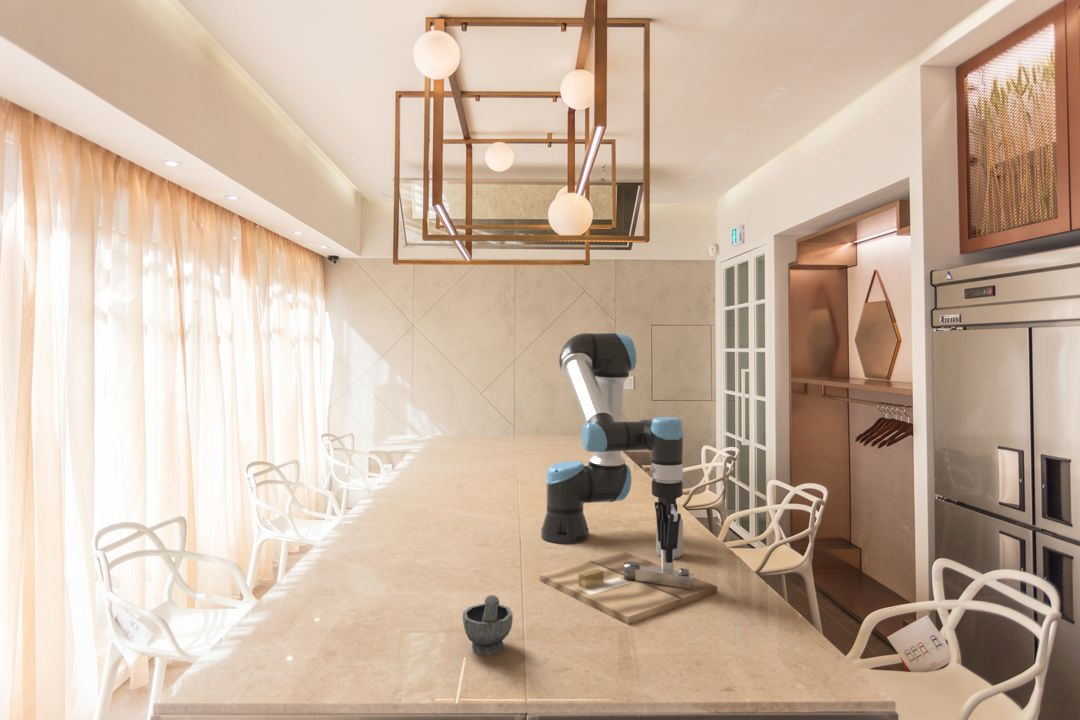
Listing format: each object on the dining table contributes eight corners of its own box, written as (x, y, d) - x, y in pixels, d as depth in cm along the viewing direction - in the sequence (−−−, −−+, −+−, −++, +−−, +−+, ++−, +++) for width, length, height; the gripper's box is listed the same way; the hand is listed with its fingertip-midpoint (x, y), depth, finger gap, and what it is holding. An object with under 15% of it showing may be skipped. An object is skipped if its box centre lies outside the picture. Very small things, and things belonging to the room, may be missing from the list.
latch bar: (621, 579, 154) (621, 563, 154) (626, 574, 158) (626, 558, 158) (690, 590, 147) (690, 574, 147) (693, 584, 151) (693, 568, 151)
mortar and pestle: (460, 639, 125) (460, 580, 125) (506, 634, 128) (505, 576, 128) (468, 666, 114) (468, 602, 114) (517, 660, 117) (517, 597, 117)
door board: (539, 580, 158) (539, 562, 158) (624, 557, 176) (624, 541, 176) (627, 624, 132) (627, 603, 132) (717, 592, 150) (717, 573, 150)
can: (683, 560, 174) (683, 517, 174) (656, 558, 175) (656, 516, 175) (682, 552, 181) (682, 511, 181) (656, 550, 183) (656, 510, 182)
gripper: (644, 475, 160) (645, 565, 160) (660, 486, 147) (661, 584, 147) (672, 474, 161) (673, 564, 161) (691, 485, 148) (691, 582, 148)
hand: (667, 573), depth 154 cm, fingers closed
